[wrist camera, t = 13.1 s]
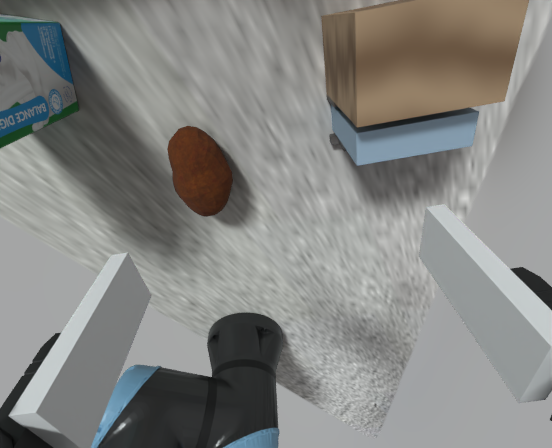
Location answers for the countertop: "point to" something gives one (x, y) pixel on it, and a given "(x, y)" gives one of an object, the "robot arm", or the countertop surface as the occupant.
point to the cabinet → (419, 57)
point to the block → (405, 135)
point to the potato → (199, 171)
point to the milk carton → (32, 77)
